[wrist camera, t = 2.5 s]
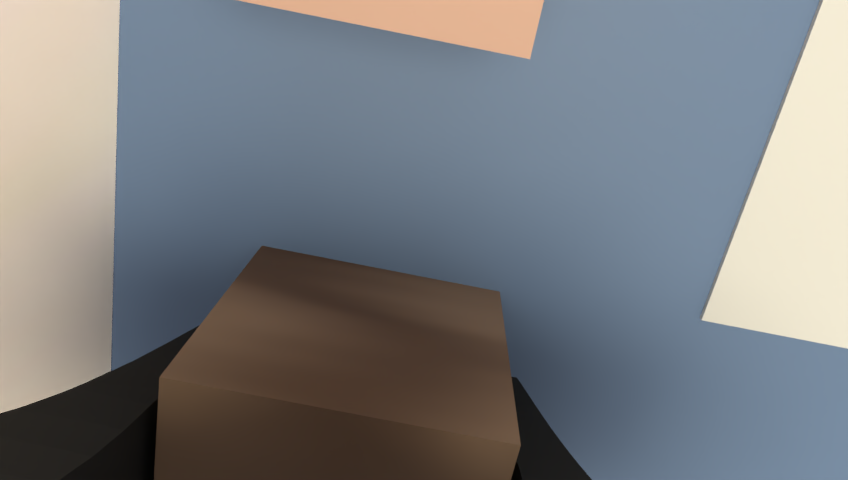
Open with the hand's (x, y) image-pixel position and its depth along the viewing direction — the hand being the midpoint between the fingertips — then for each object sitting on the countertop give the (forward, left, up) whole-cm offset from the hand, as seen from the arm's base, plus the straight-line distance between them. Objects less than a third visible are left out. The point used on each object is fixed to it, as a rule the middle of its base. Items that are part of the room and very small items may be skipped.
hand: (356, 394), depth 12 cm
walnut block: (0, 0, -1) cm, 1 cm away
